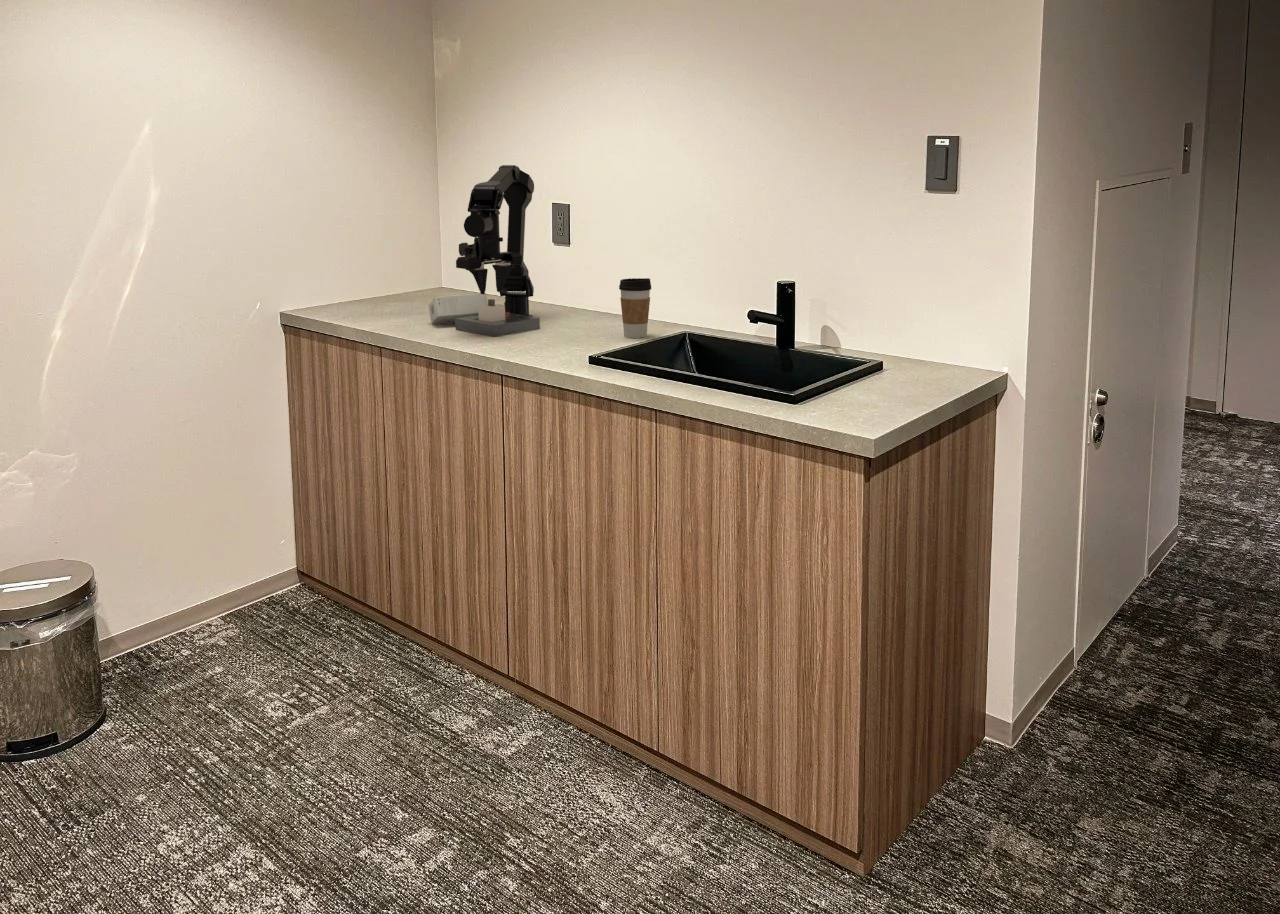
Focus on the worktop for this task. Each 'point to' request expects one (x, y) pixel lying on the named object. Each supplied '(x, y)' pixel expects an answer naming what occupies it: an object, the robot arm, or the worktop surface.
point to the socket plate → (498, 325)
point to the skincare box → (455, 307)
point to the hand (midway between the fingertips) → (490, 293)
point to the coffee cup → (635, 306)
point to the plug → (491, 311)
